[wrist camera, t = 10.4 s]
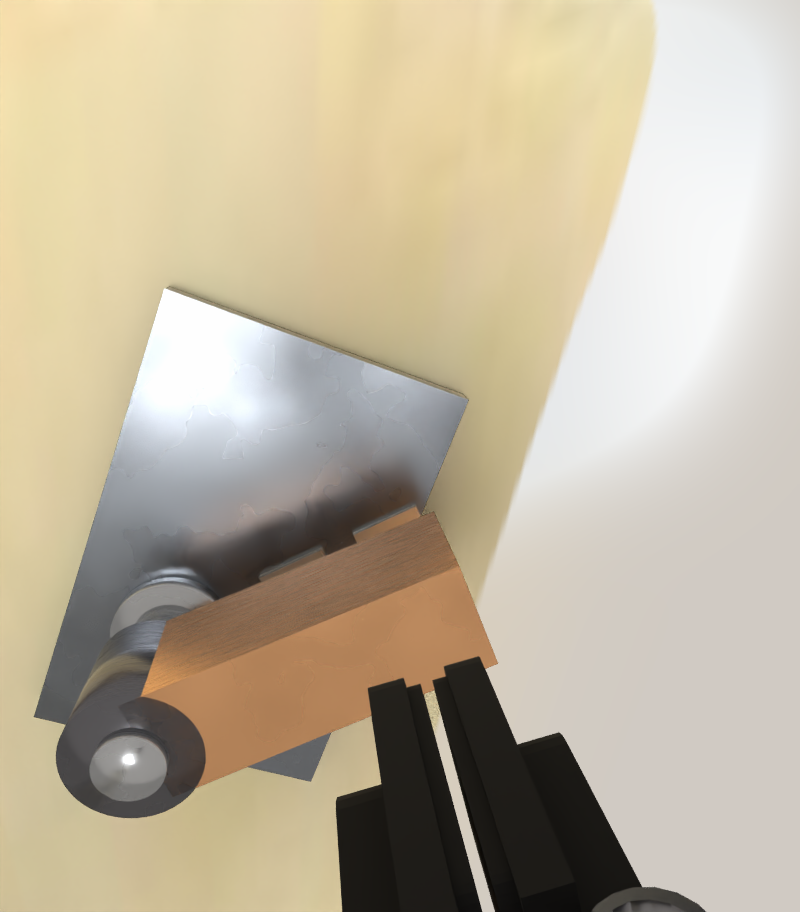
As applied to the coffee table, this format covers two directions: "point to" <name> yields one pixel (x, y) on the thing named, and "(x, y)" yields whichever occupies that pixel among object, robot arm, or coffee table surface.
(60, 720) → the post base
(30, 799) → the coffee table surface
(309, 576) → the orange boxy piece
